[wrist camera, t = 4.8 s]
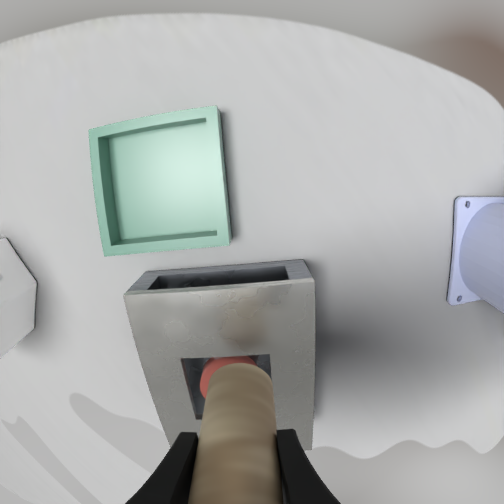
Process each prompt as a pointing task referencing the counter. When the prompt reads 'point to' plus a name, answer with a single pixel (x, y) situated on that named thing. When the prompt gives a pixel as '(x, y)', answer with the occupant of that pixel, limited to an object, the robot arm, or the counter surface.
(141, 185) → the tray
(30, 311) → the jar
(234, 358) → the button
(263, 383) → the dowel
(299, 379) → the metal stand with hole
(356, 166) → the counter surface
